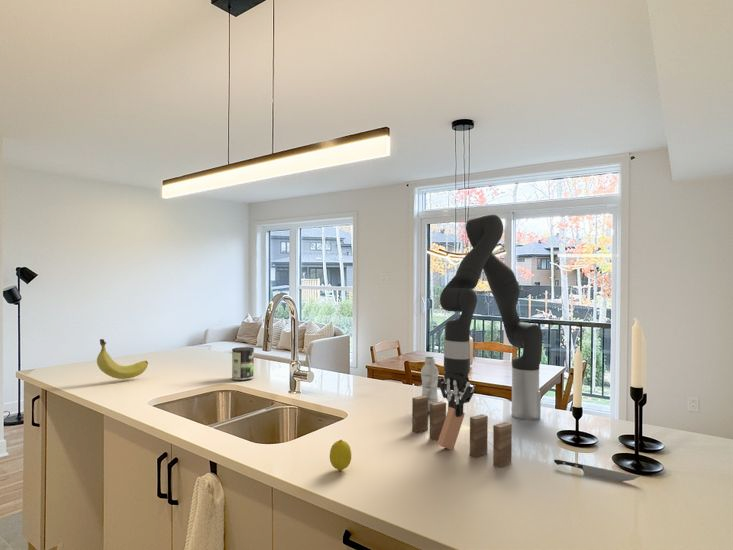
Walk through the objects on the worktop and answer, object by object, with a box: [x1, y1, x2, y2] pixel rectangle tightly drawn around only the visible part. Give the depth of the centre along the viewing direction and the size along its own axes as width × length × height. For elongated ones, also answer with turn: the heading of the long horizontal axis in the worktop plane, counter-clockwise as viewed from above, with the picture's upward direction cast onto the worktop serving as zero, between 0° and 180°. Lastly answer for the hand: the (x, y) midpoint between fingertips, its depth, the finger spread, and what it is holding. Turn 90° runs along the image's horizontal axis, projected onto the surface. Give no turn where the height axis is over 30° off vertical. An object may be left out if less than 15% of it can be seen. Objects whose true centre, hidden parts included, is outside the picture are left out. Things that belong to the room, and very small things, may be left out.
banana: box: [96, 338, 149, 380], centre depth 214 cm, size 23×6×20 cm, turn 140°
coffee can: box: [231, 346, 255, 381], centre depth 219 cm, size 10×10×14 cm
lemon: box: [329, 439, 352, 472], centre depth 114 cm, size 6×6×8 cm
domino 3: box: [436, 407, 466, 451], centre depth 130 cm, size 2×5×11 cm, turn 126°
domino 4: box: [469, 413, 489, 459], centre depth 125 cm, size 2×5×11 cm, turn 126°
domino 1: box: [411, 395, 429, 434], centre depth 144 cm, size 2×5×11 cm, turn 126°
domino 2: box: [429, 400, 447, 442], centre depth 138 cm, size 2×5×11 cm, turn 125°
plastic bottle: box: [420, 356, 440, 414], centre depth 165 cm, size 6×7×20 cm
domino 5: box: [492, 421, 513, 469], centre depth 118 cm, size 2×5×11 cm, turn 125°
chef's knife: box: [553, 459, 641, 482], centre depth 111 cm, size 19×1×3 cm, turn 59°
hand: (455, 415), depth 131 cm, fingers closed on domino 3, 2 cm apart
